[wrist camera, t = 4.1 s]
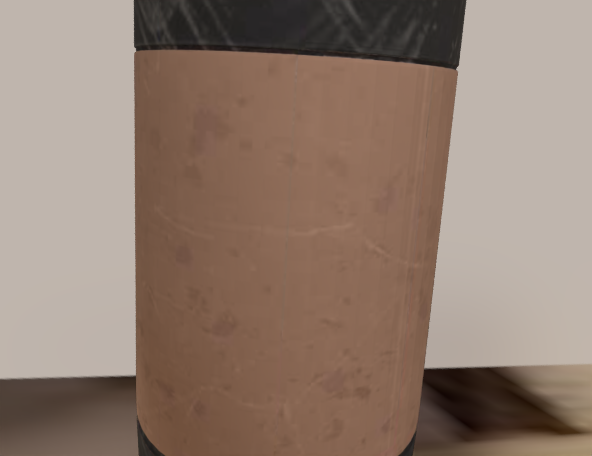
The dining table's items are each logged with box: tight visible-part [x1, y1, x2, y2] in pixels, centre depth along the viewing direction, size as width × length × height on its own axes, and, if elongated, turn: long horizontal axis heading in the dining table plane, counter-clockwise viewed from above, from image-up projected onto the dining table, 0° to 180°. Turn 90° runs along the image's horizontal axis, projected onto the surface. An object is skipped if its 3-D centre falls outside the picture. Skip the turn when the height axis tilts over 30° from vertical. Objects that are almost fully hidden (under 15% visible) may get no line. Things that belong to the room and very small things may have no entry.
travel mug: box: [134, 0, 466, 456], centre depth 15 cm, size 8×8×20 cm
